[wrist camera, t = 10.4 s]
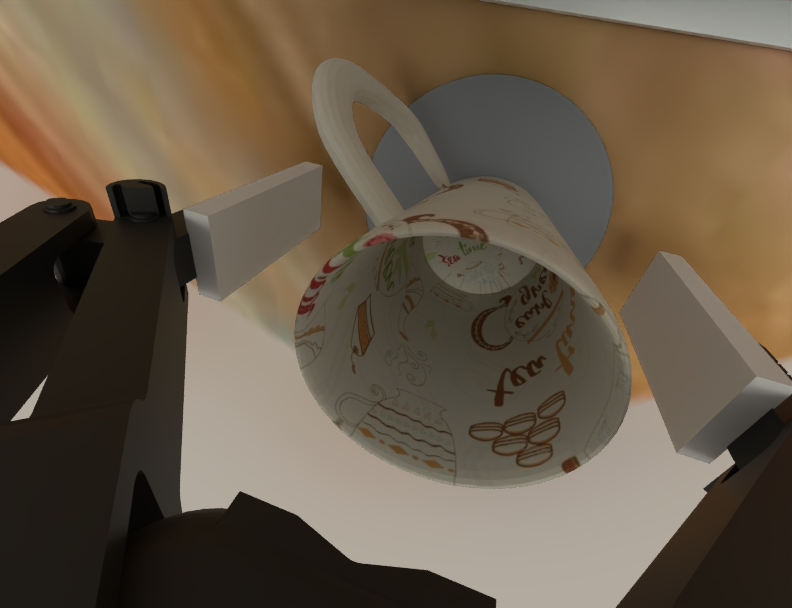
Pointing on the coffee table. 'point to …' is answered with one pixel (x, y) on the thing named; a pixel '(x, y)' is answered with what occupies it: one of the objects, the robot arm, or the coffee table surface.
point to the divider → (686, 17)
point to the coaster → (509, 152)
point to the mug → (455, 319)
